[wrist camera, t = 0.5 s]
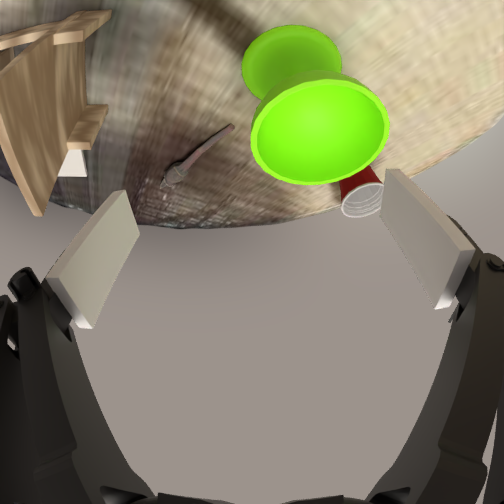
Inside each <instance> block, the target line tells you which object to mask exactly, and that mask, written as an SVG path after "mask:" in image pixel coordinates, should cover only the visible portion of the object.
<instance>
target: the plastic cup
mask: <svg viewBox="0 0 504 504" xmlns="http://www.w3.org/2000/svg"><path fill="white" fill-rule="evenodd" d="M339 183H340V190H341V201H342V202H341V210H342V212H343V214H344V215H346V216H348V217H353V218H358V217H365V216H367V215H370V214H373V213H375V212H376V211H378V210H379V209H381V204H382V197H383V190H384V184H383V183H382V182H381V181H380V180H379V179H378V177H377V176H376V174H375V173H374V171H373V170H372V169H371V167H370V166H369V165H368V166H366V167H365V168H364V169H363V170H361V171H359V172H357V173H355V174H354V175H352V176H350V177H347V178H344V179H342V180H339Z"/></svg>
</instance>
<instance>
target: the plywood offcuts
mask: <svg viewBox="0 0 504 504" xmlns="http://www.w3.org/2000/svg"><path fill="white" fill-rule="evenodd" d="M14 58H15V56H14V47H9V48H7V49H5V50H4V51H2V52H0V71H2V70H3V69H4V68H5V67H6V66H7V65H8V64H9V63H10V62H11V61H12V60H13V59H14Z"/></svg>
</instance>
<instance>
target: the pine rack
mask: <svg viewBox="0 0 504 504" xmlns="http://www.w3.org/2000/svg"><path fill="white" fill-rule="evenodd" d="M86 11H87V10H83V11H77V12H76V13H74V14H72V15H71V16H69V17H68V18H66V19H65V20H63V21H57V22H52V23H47V24H42V25H37V26H33V27H29V28H25V29H22V30H18V31H15V32H11V33H8V34H5V35H2V36H0V50H2V49H6V48H9V47H13V46H17V45H21V44H25V43H29V42H33V41H34V42H33V43H32V44H31V45H29V46H28V47H27V48H26V49H25V50H23V51H22V52H21V53H20V54H19V55H18V56H17V57H15V58H14V59H13V60H12V61H11V62H10V63H9V64H8V65H7V66H6V67H5V68H4V69H3V70H2V71H0V145H1V147H2V150H3V152H4V155H5V157H6V160H7V162H8V164H9V167H10V169H11V171H12V173H13V175H14V178H15V180H16V182H17V184H18V186H19V188H20V190H21V192H22V194H23V196H24V198H25V200H26V201H27V204H28V205H29V207H30V209H31V211H32V213H33V214H34V216H43V215H44V212H45V209H46V206H47V203H48V200H49V197H50V194H51V192H52V189H53V186H54V184H55V181H56V179H57V176H58V174H59V171H60V169H61V166H62V164H63V162H64V159H65V157H66V155H67V153H68V151H69V150H91V148H92V145H93V143H94V141H95V138H96V136H97V134H98V132H99V129H100V127H101V125H102V123H103V121H104V119H105V117H106V115H107V112H108V105H87V96H86V79H85V39H86V38H87V37H88V36H90V35H91V34H92V33H93V32H94V31H95V30H97V29H98V28H99V27H100V26H102V25H103V24H104V23H105V22H107V21H108V20H109V19H110V18H111V13H112V9H109V10H97V11H87V12H86Z"/></svg>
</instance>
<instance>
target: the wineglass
mask: <svg viewBox="0 0 504 504" xmlns="http://www.w3.org/2000/svg"><path fill="white" fill-rule="evenodd" d="M241 66H242V77H243V79H244V82H245V84H246V86H247V87H248V89H249V90H250V91H251V92H252V94H253V95H255V96H256V97H258V98H259V99H260V100H262V101H261V103H260V104H259V106H258V107H257V108H256V111H255V114H254V117H253V120H252V124H251V150H252V153H253V155H254V158H255V160H256V162H257V163H258V164H259V165H260V166H261V167H262V169H263V170H264V171H265V172H267V173H269V174H270V175H272V176H273V177H275V178H277V179H280V180H283V181H286V182H288V183H293V184H301V185H321V184H326V183H331V182H336V181H339V180H342V179H344V178H347V177H350V176H352V175H354V174H355V173H357V172H359V171H361V170H363V169H364V168H365V167H366V166H368V165H369V164H370V163H371V162H372V161H374V160H375V159H376V157H377V156H378V155H379V153H380V152H381V151H382V150H383V148H384V146H385V143H386V141H387V139H388V136H389V127H390V122H389V118H388V114H387V110H386V108H385V107H384V105H383V104H382V102H381V101H380V99H379V98H378V97H377V96H376V95H375V94H374V93H373V92H372V91H371V90H370V89H369V88H367V87H366V86H365V85H363V84H362V83H361V82H359V81H358V80H356V79H354V78H351V77H349V76H346V75H343V74H341V69H342V63H341V56H340V54H339V51H338V49H337V47H336V45H335V44H334V43H333V42H332V41H331V40H330V39H329V37H327V36H326V35H324V34H323V33H321V32H319V31H318V30H316V29H313V28H309V27H306V26H300V25H286V26H281V27H276V28H273V29H271V30H269V31H266V32H264V33H262V34H261V35H260V36H258V37H257V38H256V39H255V40H254V41H253V42H251V44H250V45H249V47H248V48H247V50H246V51H245V53H244V57H243V60H242V64H241Z"/></svg>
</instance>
